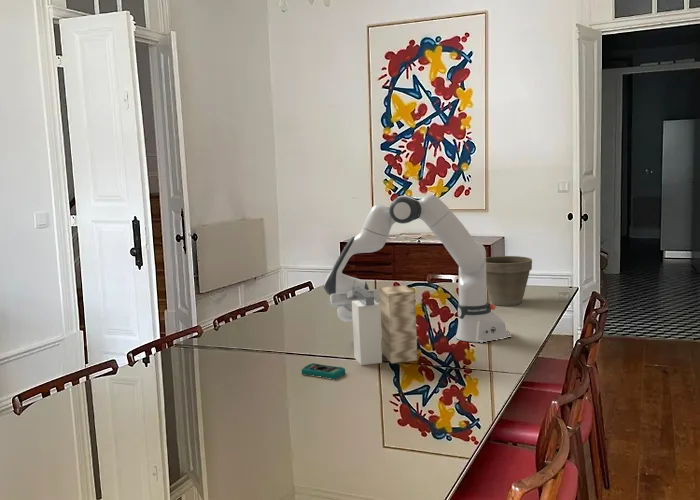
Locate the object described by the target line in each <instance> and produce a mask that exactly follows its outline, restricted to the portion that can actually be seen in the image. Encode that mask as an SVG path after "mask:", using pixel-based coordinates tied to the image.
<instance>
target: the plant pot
mask: <svg viewBox="0 0 700 500" xmlns="http://www.w3.org/2000/svg"><path fill="white" fill-rule="evenodd" d="M532 267H533V259H532V258H531V257H526V256H520V255H518V256H517V255H497V256H488V257H487V256H486V291H487V293H488V296H489V300H490V304H493V305H495V306H499V305H501V307H511V306H510V305H514V306H518V305H517V304H519V305H521V304H522V302H523V299H524V296H525V292H526V288H527V285H528V280H529V276H530V273H531V272H530V271H531V270H532ZM520 303H521V304H520Z"/></svg>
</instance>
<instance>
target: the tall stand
mask: <svg viewBox="0 0 700 500" xmlns="http://www.w3.org/2000/svg"><path fill="white" fill-rule="evenodd" d="M378 289H379V290H380V301H379V304H380V326H381V350H382V357H384V358H385V359H387V361H388V362H389V363H390V364H397V363H405V362H413V361H418V340H417V337H418V335H417V316H416V315H417V314H416V291H415V290H413V289H412V288H410V287H408V286H407V285H394V286H383V287H379V288H378Z"/></svg>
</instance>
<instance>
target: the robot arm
mask: <svg viewBox="0 0 700 500" xmlns="http://www.w3.org/2000/svg"><path fill="white" fill-rule="evenodd" d="M416 220H421V221H423V222H424V223H425V225H426V226H427V227H428V228H429V229H430V231H431V232H432V233H433V234H434V235H435V236H436V237H437V239H438V240H439V241H440V242H441V243H442V245H443V247H445V249H446V251H447V252H448V253H449V254H450V256H451V257H452V259H453V260H454V261H455V263H456V264H457V266H458V303H457V316H458V321H457V322H458V323H457V329H456V334H455V338H456V339H457V340H459V341H463V342H470V343H478V342H480V343H479V344H484V343H483V342H486V343H488V342H487V341H491V340H496V339H500V338H504V337H508V336H511V335H512V336H513V334H512V332H510V331H509V330H507V327H506V323H505V321H504V320H503V319H502V318H501V317H500V316H498V315H497V314H495V313H494V312H492V311H494V310H495V309H496V305H494V304H492V303H489V302H487V300H488V299H487V286H486V258H487V252H486V248H485V246H484V245H483V244H482V242H479V241H478V240H475V238H474V237H473V236H472V235H471V234H470V233H469V231H468V229H467V228H466V227H465V225H464V224H463V223H462V221H461V220H459V218H458V217H457V215H455V213H454V212H453V211H452V210H451V209H450V208H449V206H447V204H446V203H444V202H443V201H442V200H441V199H440V198H439V197H438V196H436V195H434V194H427V195H425V196H423V197H422V198H420V199H415V197H413V196H410V195H405V194H404V195H400V196H397V197H396V198H395V199H394V200H392V201H391V203H390V205H384V204H376V205H373V206H372V207H371V209H370V211H369V212H368V214H367V216H366V218H365V220H364V222H363V225H362V228H361V230H360V231H359V233H357V235H355V236H351V238H349V240H348V241H347V242H346V244H345V246H344V247H343V249H342V250H341V253H340V254H339V256H338V258H337V260H336V262H335V263H334V265H333V266H332V268H331V271H329V273H328V274H327V276H325V279H324V282H323V289H324V291H325V292H326V294H327V295H329V301H328V302H327V305H328V306H331V308H337V310H336V311H337V312H336V313H337V317H338V319H340V321H341V322H345V323H351V322H353V318H352V301H356V300H359V299H357V298H356V297H355V294H356V293H355V290H353V287H359V286H360V287H361V288H363V289H364V290H366V291H367V292H368V293H370V294H371V295H372V296H374V301H376V302H377V303H378V304H380V289H379V288H378V289H369V285H368V283H367V281H366V280H363V279H360V278H357V277H353V276H350V275H347V274H345V273H343V271H344V269H345V267H346V265H347V263H348V262H349V260H350V258H351V257H352V256H353V255H356V254H363V253H364V254H365V253H368V254H369V253H370V254H371V253H374V252H378V251H380V250H382V248H383V247H384V246H385V244H386V243H387V240H388V237H389V234H390V232H391V229H392V227H393V225H394V224H396V223H397V224H409V223H411V222H413V221H416ZM508 333H509V334H508ZM510 333H511V334H510ZM496 341H497V340H496ZM491 342H492V341H491Z"/></svg>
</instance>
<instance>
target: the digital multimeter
mask: <svg viewBox="0 0 700 500" xmlns="http://www.w3.org/2000/svg"><path fill="white" fill-rule="evenodd" d="M302 374H306V375H305V376H308V375H314V376H313V377H315V376H321V377H327V378H331V379H330V380H333V379H335V380H337V379H340V378H341V377H343V376H344V375H346V368H345V367H343V366H336V365H335V366H332V365H327V364H320V363H309V364H307V365H305V366H304V367H302V368H301V375H302ZM340 376H341V377H340ZM321 377H320V378H321ZM327 378H326V379H327ZM336 378H337V379H336Z"/></svg>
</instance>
